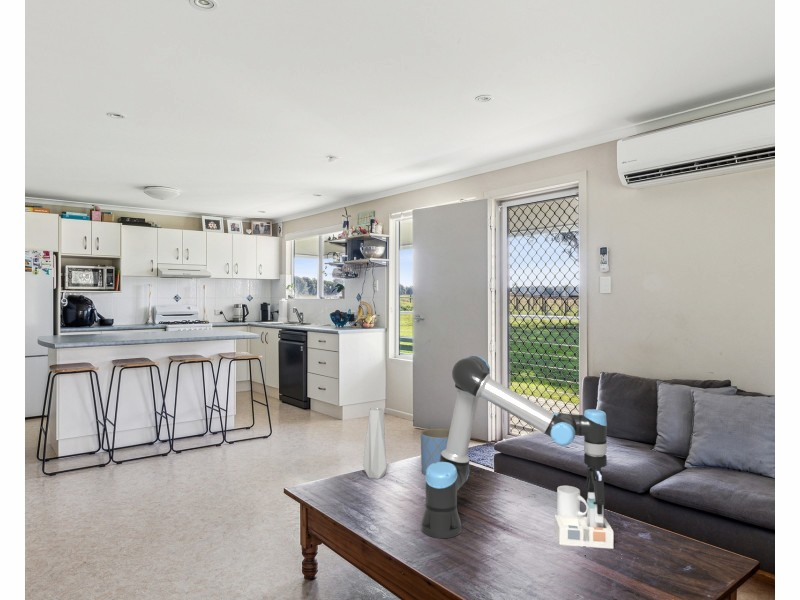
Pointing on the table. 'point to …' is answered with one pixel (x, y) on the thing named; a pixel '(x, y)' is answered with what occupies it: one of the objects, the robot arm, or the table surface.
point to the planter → (432, 446)
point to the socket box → (582, 532)
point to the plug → (592, 514)
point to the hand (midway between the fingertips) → (595, 516)
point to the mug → (569, 501)
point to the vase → (375, 445)
